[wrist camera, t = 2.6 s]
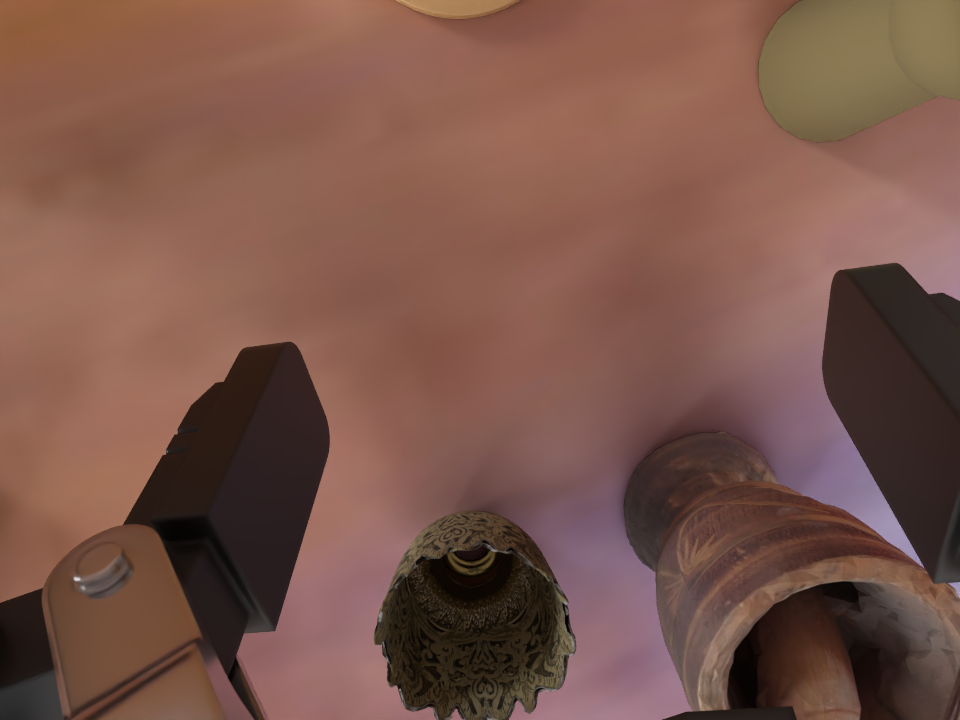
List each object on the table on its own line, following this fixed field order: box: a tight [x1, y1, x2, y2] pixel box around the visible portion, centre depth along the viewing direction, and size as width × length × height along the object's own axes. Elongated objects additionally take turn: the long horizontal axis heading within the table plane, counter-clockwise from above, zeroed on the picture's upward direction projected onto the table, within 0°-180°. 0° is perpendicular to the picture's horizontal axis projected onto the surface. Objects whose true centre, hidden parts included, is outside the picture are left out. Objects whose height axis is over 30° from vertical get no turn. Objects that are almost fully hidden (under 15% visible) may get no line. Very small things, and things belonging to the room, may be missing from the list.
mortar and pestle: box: [624, 431, 960, 720], centre depth 25 cm, size 12×9×20 cm
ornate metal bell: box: [374, 511, 576, 720], centre depth 30 cm, size 8×7×8 cm
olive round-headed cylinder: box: [759, 0, 960, 143], centre depth 25 cm, size 6×6×11 cm
